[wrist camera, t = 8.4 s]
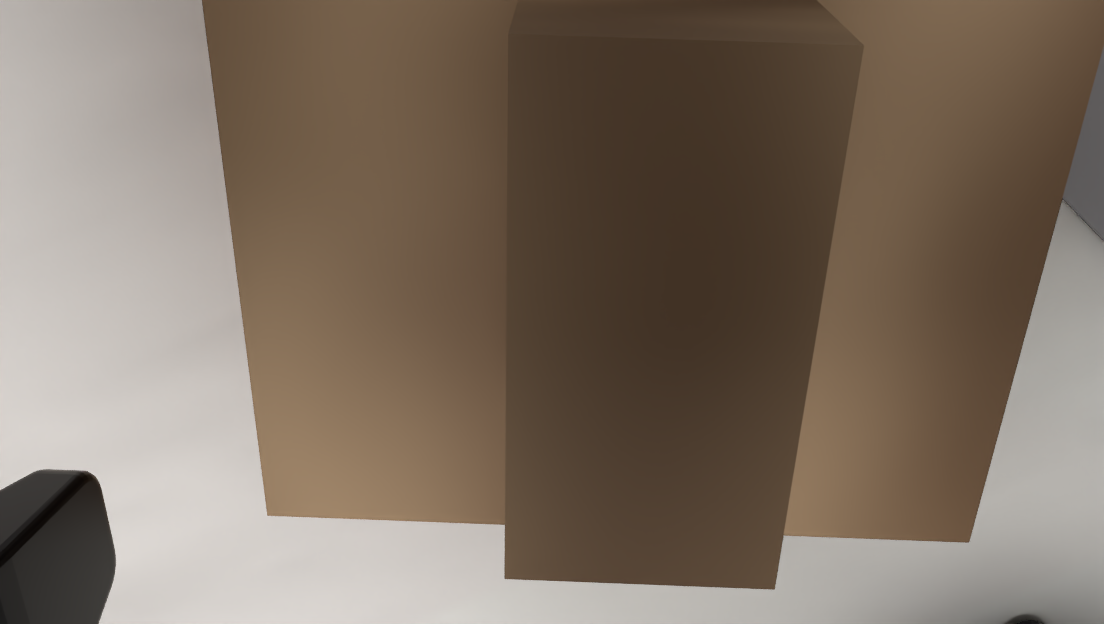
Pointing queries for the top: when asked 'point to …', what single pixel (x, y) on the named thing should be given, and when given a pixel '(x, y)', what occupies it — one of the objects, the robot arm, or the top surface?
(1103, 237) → the mat
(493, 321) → the ridged wooden block
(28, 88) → the top surface
